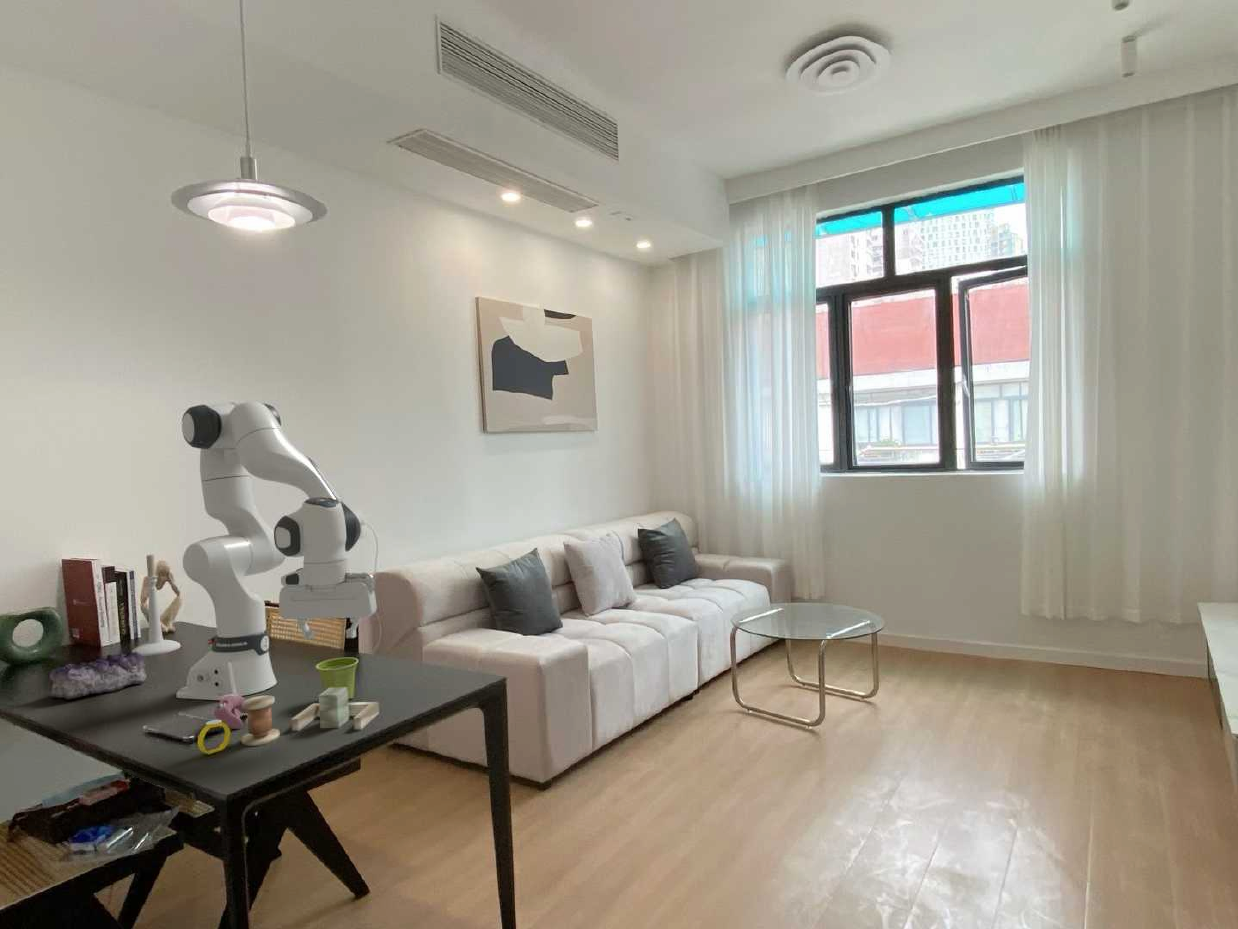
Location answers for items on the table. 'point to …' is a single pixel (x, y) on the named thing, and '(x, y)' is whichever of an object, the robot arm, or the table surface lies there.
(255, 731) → the bobbin
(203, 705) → the table surface
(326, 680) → the plant pot
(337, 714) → the block
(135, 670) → the geode
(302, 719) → the beige u-shaped bracket
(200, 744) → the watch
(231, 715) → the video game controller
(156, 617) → the candlestick
